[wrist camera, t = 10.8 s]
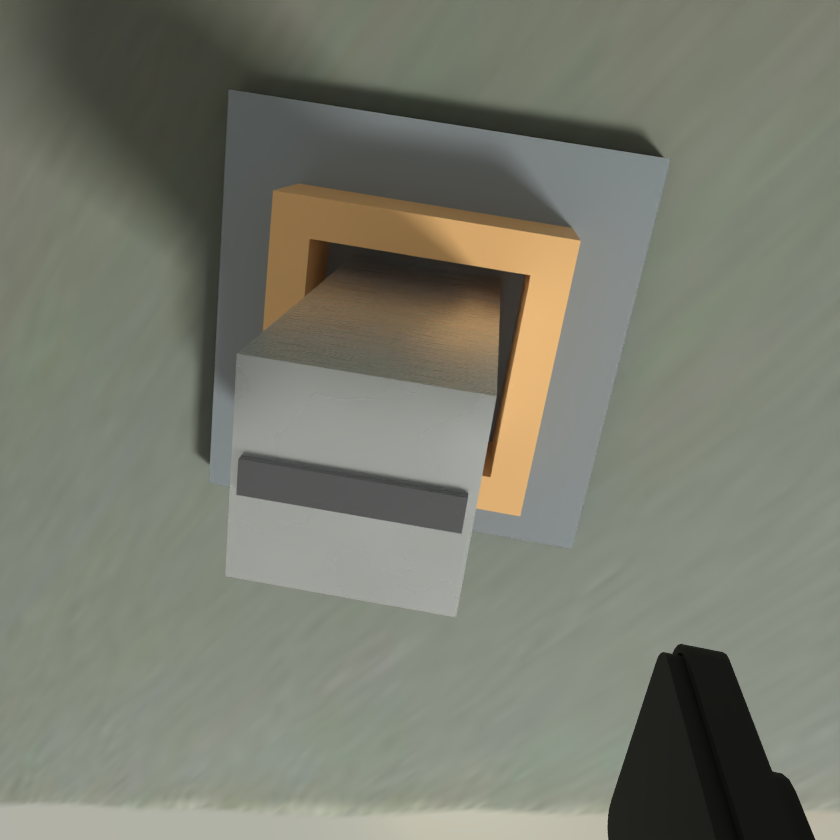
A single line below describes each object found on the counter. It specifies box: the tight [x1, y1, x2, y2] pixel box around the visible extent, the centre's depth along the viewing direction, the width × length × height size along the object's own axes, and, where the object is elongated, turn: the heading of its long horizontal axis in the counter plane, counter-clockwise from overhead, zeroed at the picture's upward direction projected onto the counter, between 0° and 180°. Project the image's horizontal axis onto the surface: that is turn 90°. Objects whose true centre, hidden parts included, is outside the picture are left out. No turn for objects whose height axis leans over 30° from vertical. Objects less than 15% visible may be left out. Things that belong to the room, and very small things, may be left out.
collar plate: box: [209, 89, 670, 549], centre depth 26 cm, size 14×14×4 cm
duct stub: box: [225, 256, 501, 617], centre depth 21 cm, size 5×5×12 cm
